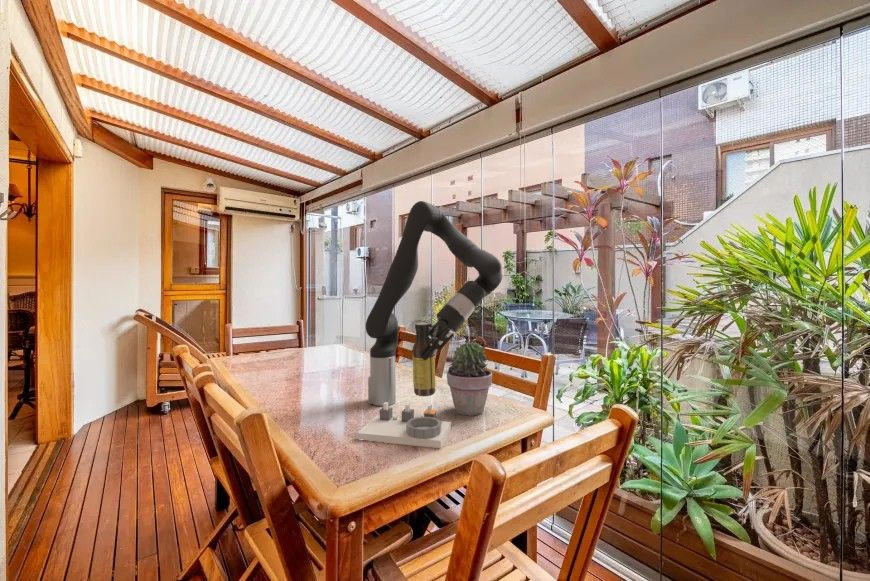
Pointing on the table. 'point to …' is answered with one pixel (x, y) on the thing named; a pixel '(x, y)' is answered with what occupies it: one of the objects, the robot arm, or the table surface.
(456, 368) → the potted plant
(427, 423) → the breaker board
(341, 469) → the table surface
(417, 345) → the sauce bottle
